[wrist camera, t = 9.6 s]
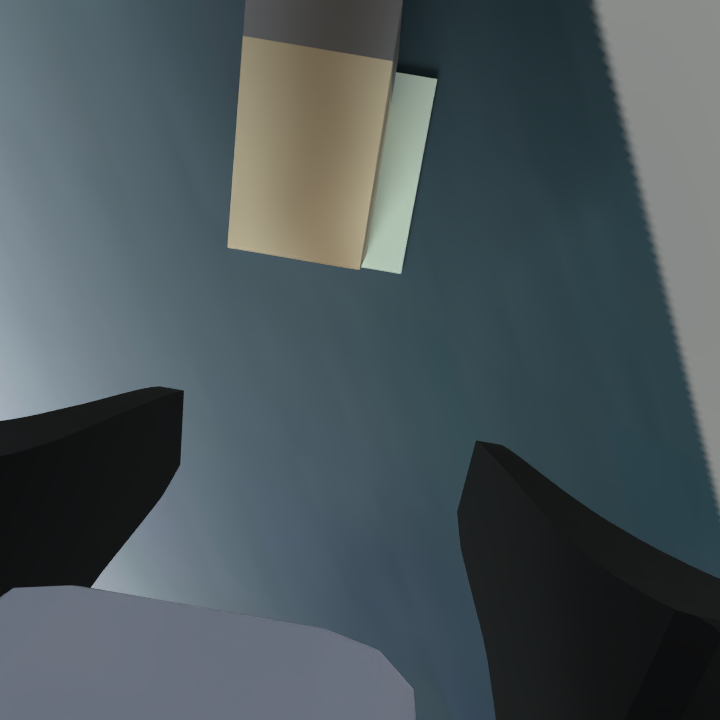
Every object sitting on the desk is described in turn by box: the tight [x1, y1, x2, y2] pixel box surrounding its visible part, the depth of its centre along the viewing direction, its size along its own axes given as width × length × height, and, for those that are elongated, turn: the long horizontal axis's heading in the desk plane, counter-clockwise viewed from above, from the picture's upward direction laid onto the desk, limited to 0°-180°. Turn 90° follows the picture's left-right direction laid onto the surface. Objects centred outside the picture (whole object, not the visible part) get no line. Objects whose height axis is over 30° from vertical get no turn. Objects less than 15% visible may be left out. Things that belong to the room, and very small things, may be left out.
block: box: [228, 0, 403, 270], centre depth 15 cm, size 4×7×5 cm, turn 171°
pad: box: [361, 72, 437, 274], centre depth 18 cm, size 7×7×1 cm
